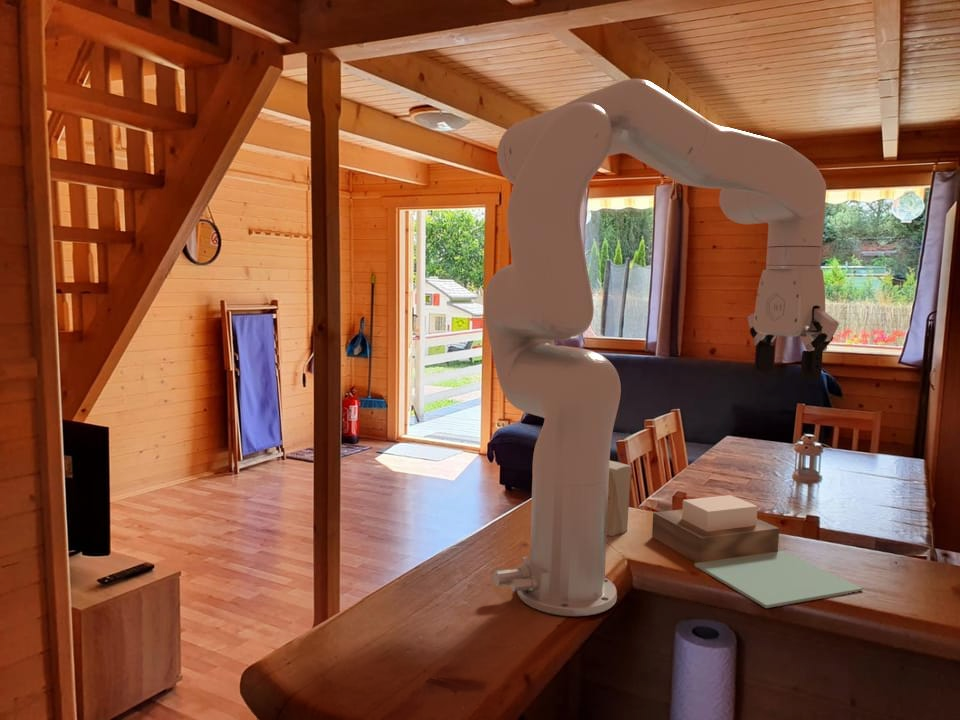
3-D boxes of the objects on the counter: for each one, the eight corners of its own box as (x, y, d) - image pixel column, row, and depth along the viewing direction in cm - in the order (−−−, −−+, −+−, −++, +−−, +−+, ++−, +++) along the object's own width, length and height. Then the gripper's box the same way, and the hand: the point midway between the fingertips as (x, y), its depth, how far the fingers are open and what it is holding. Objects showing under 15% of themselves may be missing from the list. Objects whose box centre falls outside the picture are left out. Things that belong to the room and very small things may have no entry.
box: (587, 528, 115) (589, 462, 114) (603, 523, 118) (605, 458, 117) (613, 537, 111) (616, 468, 110) (629, 531, 114) (632, 464, 113)
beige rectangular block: (707, 531, 103) (708, 511, 103) (681, 518, 109) (682, 499, 108) (756, 525, 106) (757, 506, 106) (729, 513, 112) (730, 495, 112)
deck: (700, 565, 101) (701, 538, 100) (652, 537, 112) (653, 512, 112) (777, 554, 106) (779, 528, 105) (723, 528, 117) (725, 504, 116)
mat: (766, 608, 87) (766, 605, 87) (694, 566, 100) (694, 563, 100) (862, 591, 93) (862, 588, 93) (782, 553, 106) (783, 550, 106)
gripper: (734, 261, 112) (728, 368, 114) (818, 257, 96) (810, 382, 98) (772, 262, 115) (766, 367, 116) (861, 259, 98) (852, 381, 100)
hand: (786, 374), depth 107 cm, fingers open, 9 cm apart
